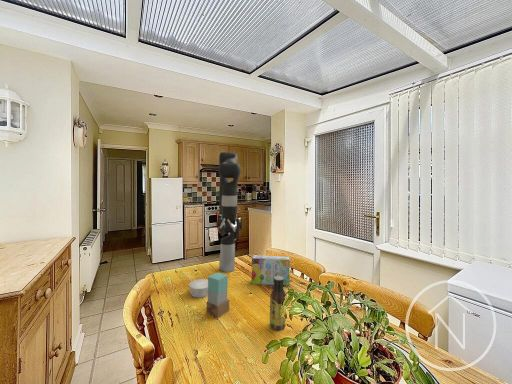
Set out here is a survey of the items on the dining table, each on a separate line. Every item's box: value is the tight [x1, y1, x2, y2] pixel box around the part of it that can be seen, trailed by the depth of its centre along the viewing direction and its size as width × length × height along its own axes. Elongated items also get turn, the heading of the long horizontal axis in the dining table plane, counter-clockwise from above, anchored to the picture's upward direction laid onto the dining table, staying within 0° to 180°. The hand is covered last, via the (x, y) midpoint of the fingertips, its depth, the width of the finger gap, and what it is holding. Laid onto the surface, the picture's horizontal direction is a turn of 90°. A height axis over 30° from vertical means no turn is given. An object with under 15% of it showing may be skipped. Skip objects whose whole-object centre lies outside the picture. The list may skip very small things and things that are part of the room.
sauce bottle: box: [269, 276, 287, 331], centre depth 91 cm, size 6×6×20 cm
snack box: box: [251, 254, 291, 287], centre depth 130 cm, size 21×6×15 cm, turn 84°
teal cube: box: [207, 272, 229, 294], centre depth 101 cm, size 6×6×6 cm
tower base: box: [206, 298, 230, 319], centre depth 101 cm, size 7×7×5 cm
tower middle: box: [207, 289, 228, 306], centre depth 101 cm, size 6×6×5 cm
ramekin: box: [188, 278, 208, 298], centre depth 117 cm, size 11×11×5 cm
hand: (229, 237), depth 113 cm, fingers open, 8 cm apart
